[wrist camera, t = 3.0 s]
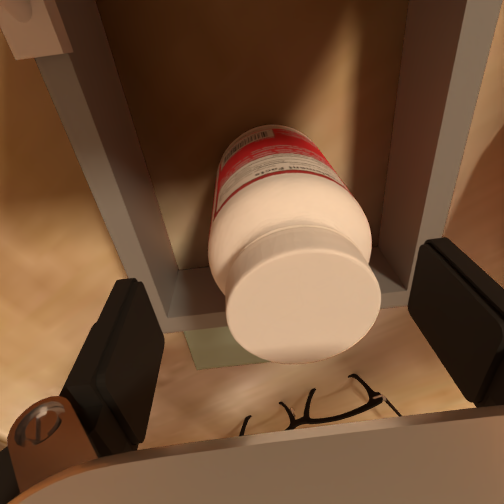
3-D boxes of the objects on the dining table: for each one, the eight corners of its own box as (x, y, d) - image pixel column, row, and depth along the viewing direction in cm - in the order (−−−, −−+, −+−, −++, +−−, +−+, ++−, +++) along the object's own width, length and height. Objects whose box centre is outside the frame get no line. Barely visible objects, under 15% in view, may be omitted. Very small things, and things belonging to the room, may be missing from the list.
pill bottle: (295, 235, 21) (341, 392, 12) (203, 206, 20) (176, 359, 10) (343, 145, 18) (456, 264, 9) (238, 102, 16) (242, 191, 7)
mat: (175, 303, 24) (174, 306, 24) (276, 291, 24) (277, 295, 23) (197, 365, 28) (196, 370, 28) (283, 356, 28) (283, 360, 28)
